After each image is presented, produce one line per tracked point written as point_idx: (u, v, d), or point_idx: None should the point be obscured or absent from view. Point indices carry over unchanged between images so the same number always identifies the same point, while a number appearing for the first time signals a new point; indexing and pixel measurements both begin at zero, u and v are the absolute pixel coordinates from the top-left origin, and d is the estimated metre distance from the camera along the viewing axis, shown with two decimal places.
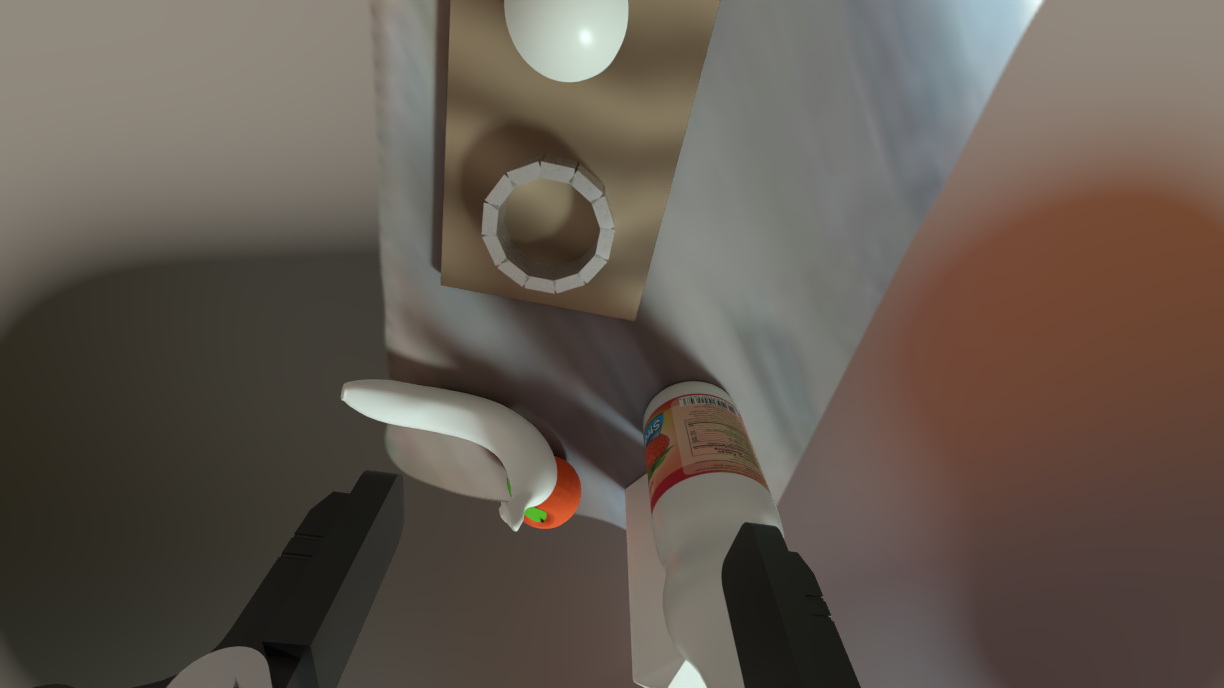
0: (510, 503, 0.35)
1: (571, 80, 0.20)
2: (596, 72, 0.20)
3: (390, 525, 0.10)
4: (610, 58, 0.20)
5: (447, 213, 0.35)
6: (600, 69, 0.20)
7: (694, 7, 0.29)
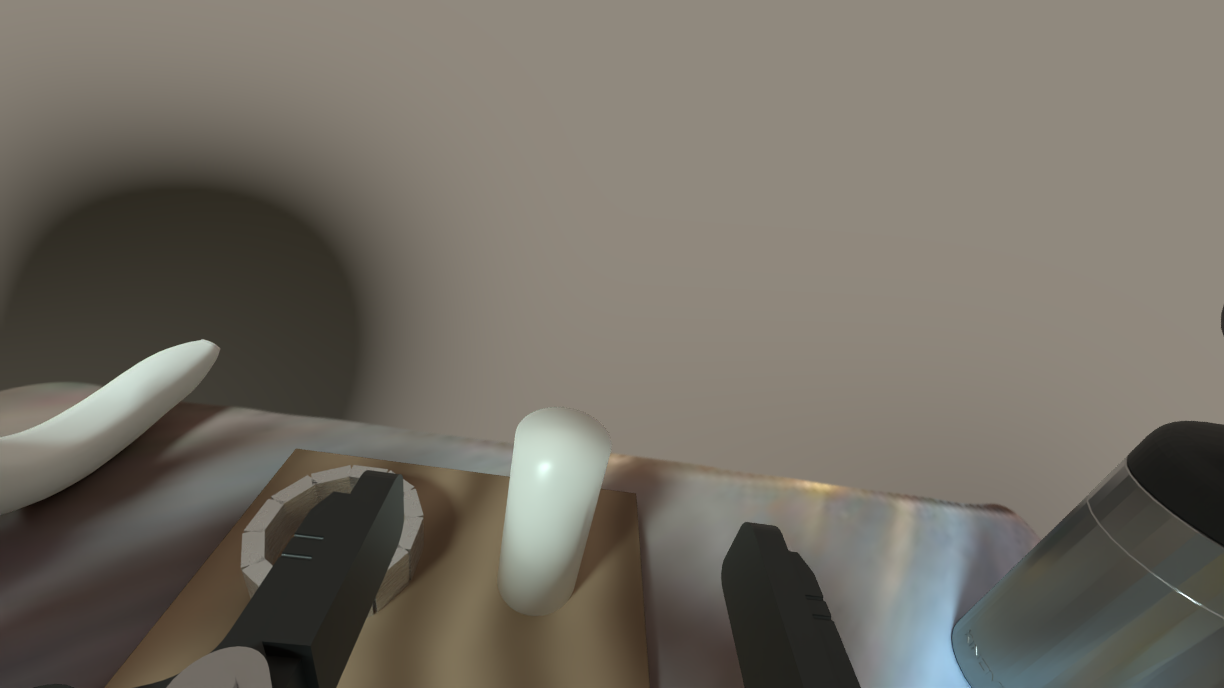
0: None
1: (516, 439, 0.24)
2: (524, 455, 0.23)
3: (390, 525, 0.10)
4: (535, 463, 0.23)
5: (376, 462, 0.36)
6: (526, 457, 0.23)
7: None
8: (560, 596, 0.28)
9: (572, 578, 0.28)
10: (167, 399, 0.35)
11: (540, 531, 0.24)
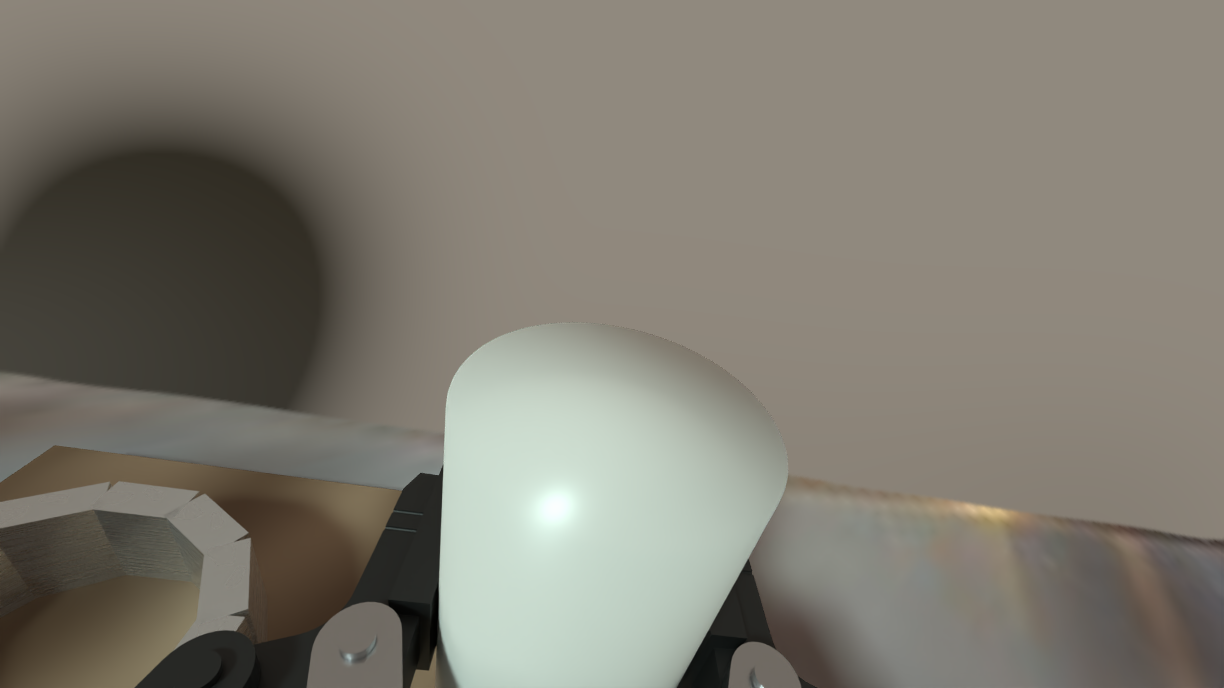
0: None
1: (451, 405, 0.06)
2: (471, 465, 0.06)
3: None
4: (519, 504, 0.05)
5: (216, 473, 0.18)
6: (481, 475, 0.05)
7: None
8: None
9: None
10: None
11: None
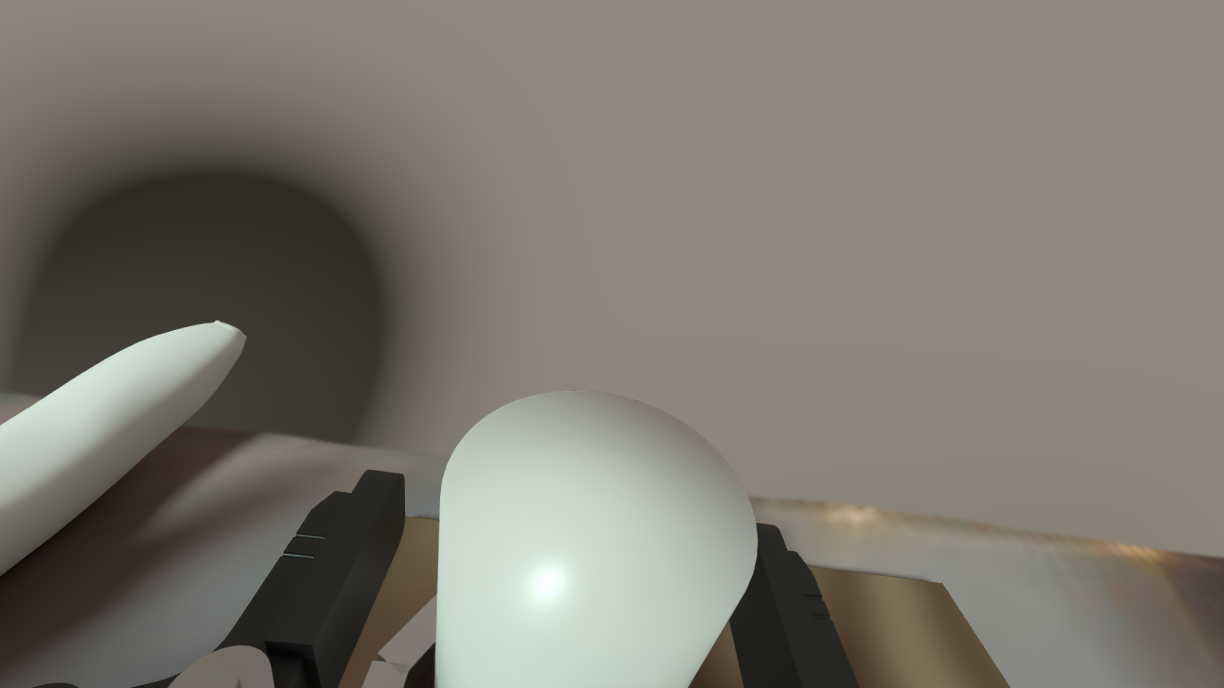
0: None
1: (445, 495, 0.07)
2: (463, 563, 0.06)
3: (391, 525, 0.10)
4: (505, 604, 0.06)
5: None
6: (471, 574, 0.06)
7: None
8: None
9: None
10: (156, 425, 0.20)
11: None
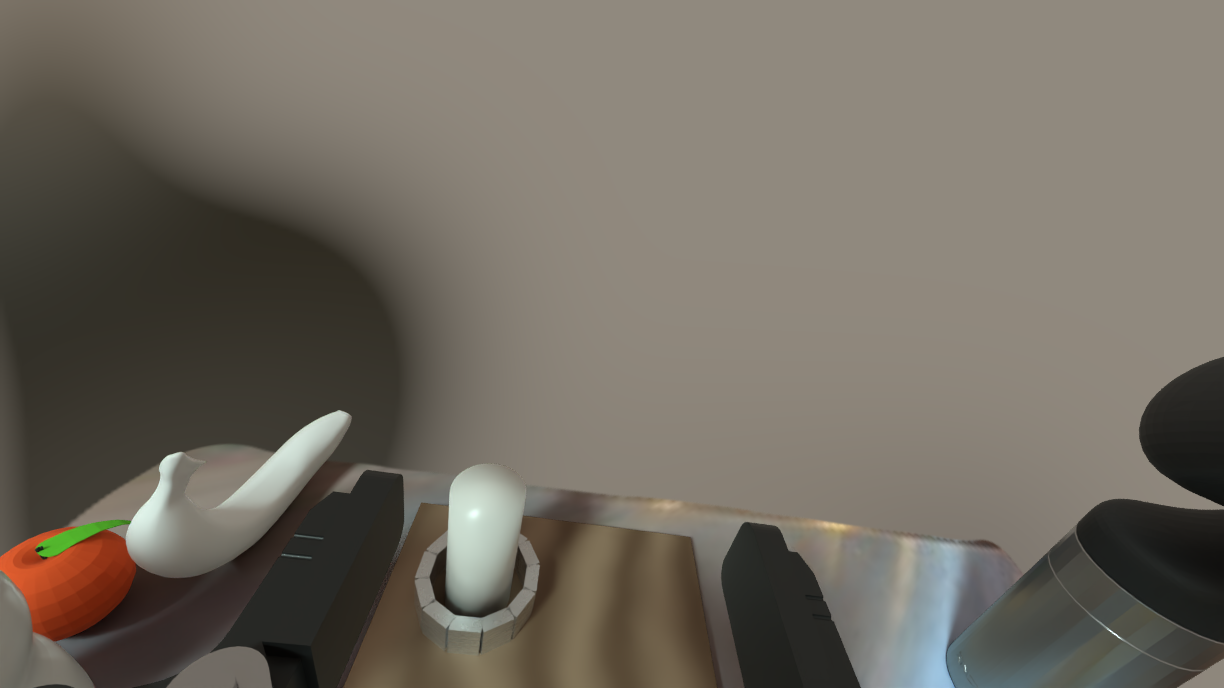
0: (195, 470, 0.30)
1: (450, 493, 0.31)
2: (454, 506, 0.30)
3: (390, 525, 0.10)
4: (462, 513, 0.30)
5: None
6: (456, 508, 0.30)
7: None
8: (492, 611, 0.35)
9: (502, 597, 0.35)
10: (319, 462, 0.44)
11: (470, 563, 0.32)
